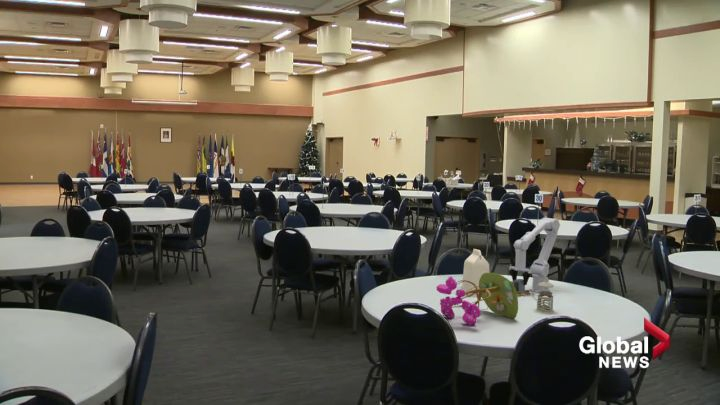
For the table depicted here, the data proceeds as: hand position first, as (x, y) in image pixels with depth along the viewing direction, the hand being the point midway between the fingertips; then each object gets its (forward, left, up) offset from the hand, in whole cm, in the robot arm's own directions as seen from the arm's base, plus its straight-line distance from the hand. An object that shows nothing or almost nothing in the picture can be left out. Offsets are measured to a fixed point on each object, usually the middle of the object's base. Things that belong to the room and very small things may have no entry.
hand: (519, 283), depth 375 cm
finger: (0, 0, -5) cm, 5 cm away
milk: (+24, -12, -6) cm, 28 cm away
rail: (+5, 0, -6) cm, 8 cm away
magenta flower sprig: (+66, +26, -6) cm, 72 cm away
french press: (+23, +34, -6) cm, 42 cm away
